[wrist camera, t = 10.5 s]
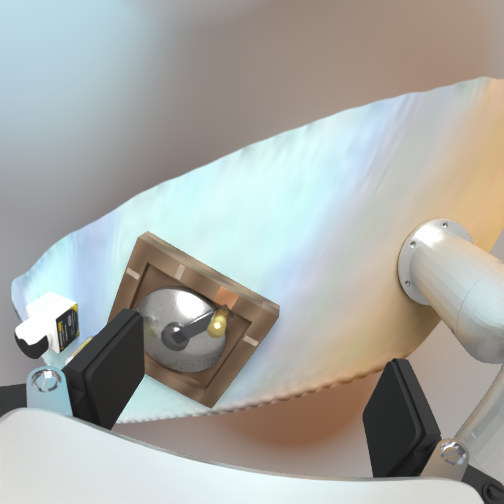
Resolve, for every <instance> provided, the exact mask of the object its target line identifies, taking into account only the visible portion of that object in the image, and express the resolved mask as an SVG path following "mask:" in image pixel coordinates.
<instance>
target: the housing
mask: <svg viewBox="0 0 504 504" xmlns="http://www.w3.org/2000/svg"><path fill="white" fill-rule="evenodd" d="M167 285H179V286H184V287H188V288H191V289H193V290H195V291H197V292H199V293H200V294H202V295H204V296H206V297H207V298H208V299H209V300H210V301H211V302H213V303H214V305H215V306H216V307H217V308H219V307H221V306H222V305H224V304H226V305H227V306H228V308H229V309H230V310H231V312H232V313H233V314H234V315H233V317H232V318H230V319H229V321H228V324H227V326H226V328H227V340H226V344H225V347H224V350H223V353H222V355H221V357H220V358H219V359H218V361H217V362H216V363H215V364H213V365H212V366H211V367H209V368H207V369H204V370H202V371H197V372H182V371H177V370H173V369H170V368H168V367H166V366H164V365H162V364H160V363H159V362H157V361H156V360H154V359H153V358H152V357H151V356H150V355H149V354H148V353H147V352H146V351H145V350H144V360H145V373H146V374H147V375H149V376H151V377H152V378H154V379H156V380H158V381H159V382H161V383H163V384H165V385H167V386H168V387H170V388H172V389H174V390H176V391H178V392H180V393H181V394H183V395H185V396H187V397H189V398H191V399H193V400H195V401H197V402H199V403H201V404H203V405H205V406H207V407H209V408H211V409H212V407H213V406H214V405H215V403H216V402H217V401H218V399H219V398H220V397H221V396H222V394H223V393H224V392H225V390H226V389H227V388H228V386H229V385H230V384H231V382H232V381H233V380H234V378H235V377H236V376H237V374H238V373H239V372H240V370H241V369H242V367H243V366H244V365H245V363H246V362H247V361H248V359H249V358H250V357H251V355H252V354H253V352H254V351H255V350H256V348H257V347H258V345H259V344H260V343H261V341H262V340H263V338H264V337H265V336H266V334H267V333H268V331H269V330H270V329H271V327H272V326H273V324H274V323H275V321H276V320H277V319H278V317H279V307H280V306H279V305H277V304H275V303H273V302H271V301H270V300H268V299H266V298H264V297H262V296H261V295H259V294H257V293H255V292H253V291H251V290H250V289H248V288H246V287H244V286H242V285H241V284H239V283H237V282H235V281H233V280H232V279H230V278H228V277H226V276H225V275H223V274H221V273H219V272H217V271H216V270H214V269H212V268H210V267H209V266H207V265H205V264H203V263H202V262H200V261H198V260H196V259H195V258H193V257H191V256H189V255H188V254H186V253H184V252H183V251H181V250H179V249H177V248H176V247H174V246H172V245H171V244H169V243H167V242H165V241H164V240H162V239H160V238H159V237H157V236H155V235H154V234H152V233H150V232H146V233H144V234H143V235H141V236H139V237H138V239H137V241H136V244H135V246H134V249H133V251H132V254H131V256H130V259H129V262H128V264H127V267H126V270H125V272H124V275H123V278H122V281H121V283H120V286H119V289H118V292H117V295H116V298H115V301H114V304H113V307H112V310H111V313H110V316H109V319H108V322H107V324H108V323H109V322H110V321H111V320H112V319H113V318H114V317H115V316H116V315H117V314H118V313H119V312H120V311H121V310H122V309H124V308H128V309H131V310H135V311H136V308H137V306H138V305H139V303H140V302H141V301H142V300H143V298H144V297H145V296H146V295H147V294H148V293H150V292H151V291H152V290H154V289H156V288H159V287H162V286H167Z"/></svg>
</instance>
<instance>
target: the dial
mask: <svg viewBox="0 0 504 504" xmlns="http://www.w3.org/2000/svg"><path fill="white" fill-rule="evenodd" d="M136 311H138V312H139V314H140V316H142V317H143V325H144V350H145V351H146V352H147V353H148V354H149V355H150V356H151V357H152V358H153V359H154V360H156V361H157V362H159V363H160V364H162V365H164V366H166V367H168V368H170V369H173V370H177V371H182V372H197V371H202V370H204V369H207V368H209V367H211V366H212V365H213V364H215V363H216V362H217V361H218V359H219V358H220V357H221V355H222V353H223V350H224V347H225V344H226V340H227V328H226V326H227V324H228V321H229V319H230V318H232V317H233V315H234V314H233V313H232V312H231V310H230V309H229V308H228V306H227V305H226V304H224V305H222V306H221V307H219V308H217V307H216V306H215V305H214V303H213V302H211V301H210V300H209V299H208V298H207V297H206V296H204V295H202V294H200V293H199V292H197V291H195V290H193V289H191V288H188V287H184V286H179V285H167V286H162V287H159V288H156V289H154V290H152V291H151V292H150V293H148V294H147V295H146V296H145V297H144V298H143V300H142V301H141V302H140V303H139V305H138V306H137V308H136Z"/></svg>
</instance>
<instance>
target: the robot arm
mask: <svg viewBox="0 0 504 504" xmlns="http://www.w3.org/2000/svg"><path fill="white" fill-rule="evenodd" d="M443 223H444V225H443ZM411 242H412V244H410V243H411ZM398 276H399V280H400V283H401V285H402V287H403V289H404V291H405V292H406V293H407V295H408V296H409V297H410V298H411V299H412V300H414V301H416V302H417V303H420V304H423V305H429V306H432V308H433V309H434V310H435V311H436V313H437V314H438V315H439V316H440V318H441V319H442V320H443V321H444V323H445V324H446V325H447V326H448V328H449V329H450V330H451V331H452V333H453V334H454V335H455V336H456V338H457V339H458V341H459V342H460V343H461V345H462V346H463V347H464V348H465V350H466V351H467V352H468V353H469V354H470V355H471V356H472V357H474V358H475V359H476V360H479V361H481V362H484V363H490V364H498V363H499V364H500V363H503V365H502V367H501V369H500V371H499V373H498V375H497V376H496V378H495V379H494V381H493V383H492V385H491V387H490V388H489V390H488V391H487V393H486V394H485V395H484V397H483V399H482V400H481V401H480V403H479V404H478V405H477V407H476V408H475V409H474V411H473V412H472V413H471V415H470V416H469V417H468V419H467V420H466V421H465V423H464V424H463V425H462V427H461V428H460V429H459V431H458V432H457V434H456V435H455V437H454V438H453V439H449V438H448V439H443V440H442V439H441V436H440V434H441V433H440V430H439V427H438V425H437V423H436V420H435V418H434V415H433V413H432V411H431V409H430V406H429V404H428V402H427V399H426V397H425V395H424V393H423V391H422V389H421V386H420V384H419V382H418V380H417V378H416V375H415V374H414V371H413V369H412V367H411V365H410V363H409V361H408V360H407V359H396V358H394V359H393V360H392V361H391V362H388V363H387V364H386V366H385V368H384V371H383V373H382V375H381V377H380V379H379V381H378V383H377V386H376V388H375V390H374V392H373V394H372V396H371V398H370V400H369V402H368V404H367V405H366V407H365V409H364V412H363V423H364V428H365V433H366V438H367V443H368V449H369V455H370V460H371V466H372V472H373V478H346V477H322V476H308V475H297V474H288V473H279V472H271V471H264V470H258V469H251V468H245V467H240V466H234V465H229V464H224V463H219V462H215V461H210V460H206V459H201V458H198V457H193V456H190V455H186V454H182V453H178V452H174V451H171V450H168V449H164V448H161V447H157V446H154V445H151V444H148V443H145V442H142V441H139V440H136V439H133V438H130V437H127V436H124V435H122V434H119V433H116V432H113V431H111V428H112V427H113V425H114V424H115V422H116V421H117V419H118V417H119V416H120V414H121V413H122V411H123V409H124V408H125V406H126V405H127V403H128V401H129V400H130V398H131V397H132V395H133V393H134V392H135V390H136V389H137V387H138V385H139V384H140V382H141V381H142V379H143V377H144V374H145V360H144V325H143V317H142V316H140V314H139V312H138V311H135V310H131V309H128V308H124V309H122V310H121V311H120V312H119V313H118V314H117V315H116V316H115V317H114V318H113V319H112V320H111V321H110V322H109V323H108V324H107V325H106V326H105V327H104V328H103V329H102V330H101V331H100V332H99V333H98V334H97V335H95V336H94V337H93V338H92V339H91V340H90V341H89V342H88V343H87V344H86V345H85V346H84V347H83V348H82V349H81V350H80V351H79V352H78V353H77V354H76V355H75V356H74V358H73V359H72V360H71V361H70V362H69V363H68V364H67V365H66V366H65V367H64V368H63V369H62V370H59V369H57V368H55V367H51V366H43V367H39V368H37V369H34V370H33V371H32V372H31V373H29V375H28V377H27V381H26V384H19V385H11V386H2V387H0V504H504V262H502V261H500V260H499V259H497V258H495V257H494V256H492V255H491V254H489V253H487V252H486V251H484V250H482V249H481V248H479V247H477V246H475V245H474V244H473V241H472V238H471V236H470V234H469V233H468V231H467V230H466V229H465V228H464V227H463V226H462V225H460V224H459V223H457V222H455V221H453V220H450V219H446V218H436V219H432V220H429V221H427V222H424V223H423V224H421V225H420V226H418V227H417V228H416V229H415V230H414V231H413V232H412V233H411V234H410V235H409V237H408V238H407V239H406V241H405V243H404V245H403V247H402V249H401V252H400V256H399V261H398ZM406 281H407V282H406Z"/></svg>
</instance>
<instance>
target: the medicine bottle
mask: <svg viewBox="0 0 504 504" xmlns="http://www.w3.org/2000/svg"><path fill="white" fill-rule="evenodd" d="M26 312H27V320H26V321H24V322H23V323H22V324H20V325H19V326H18V327H16V329H15V339H16V342H17V344H18V346H19V348H20V349H21V350H22V351H23V353H24V354H25V355H27V356H28V357H30V358H33V359H37V358H39V357H40V356H41V355H42V354H43V353H44V352H46V351H47V350H48V349H50V350H52V351H54V352H55V353H57V354H60V353H61V352H62V351H63V350H64V349H65V348H66V347H67V346H68V345H69V344H70V343H71V342H72V341H73V340H74V339H75V338H76V337H77V336H79V323H78V304H77V303H76V302H74V301H72V300H69V299H67V298H65V297H62V296H60V295H58V294H55V293H53V292H51V291H48V292H47V293H45V294H44V295H42V296H41V297H39V298H38V299H36V300H35V301H33V302H32V303H30V304H29V305H27V306H26Z"/></svg>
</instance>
